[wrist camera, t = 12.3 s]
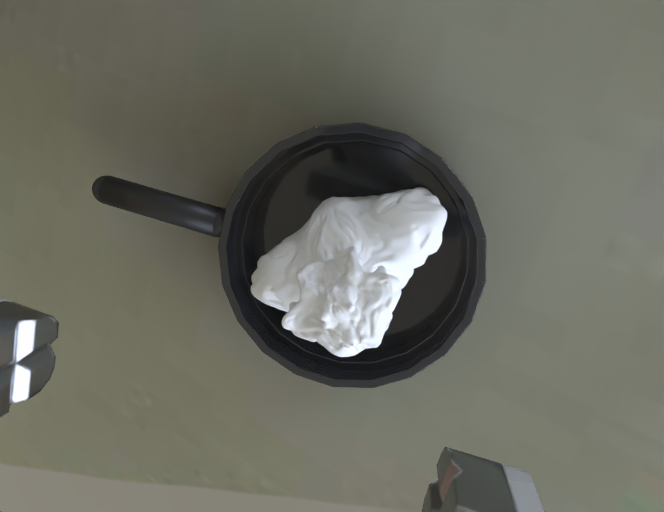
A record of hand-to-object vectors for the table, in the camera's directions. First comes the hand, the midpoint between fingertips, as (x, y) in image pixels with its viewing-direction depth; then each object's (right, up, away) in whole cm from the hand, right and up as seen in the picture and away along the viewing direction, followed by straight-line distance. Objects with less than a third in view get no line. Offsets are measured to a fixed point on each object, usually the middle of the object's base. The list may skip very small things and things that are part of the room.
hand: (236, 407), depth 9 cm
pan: (+3, +3, +21) cm, 21 cm away
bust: (+4, +4, +20) cm, 21 cm away
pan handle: (-8, +6, +20) cm, 23 cm away
